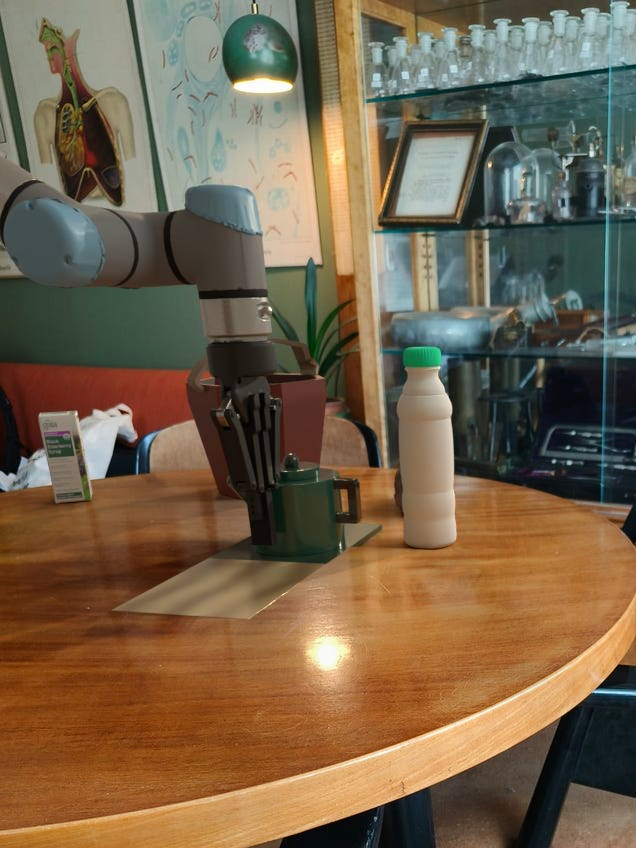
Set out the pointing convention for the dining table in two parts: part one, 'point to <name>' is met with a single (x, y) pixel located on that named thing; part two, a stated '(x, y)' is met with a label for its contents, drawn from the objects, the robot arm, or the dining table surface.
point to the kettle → (309, 508)
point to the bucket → (296, 420)
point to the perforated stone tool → (398, 489)
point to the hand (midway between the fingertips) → (264, 543)
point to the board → (239, 580)
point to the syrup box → (65, 456)
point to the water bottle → (426, 452)
